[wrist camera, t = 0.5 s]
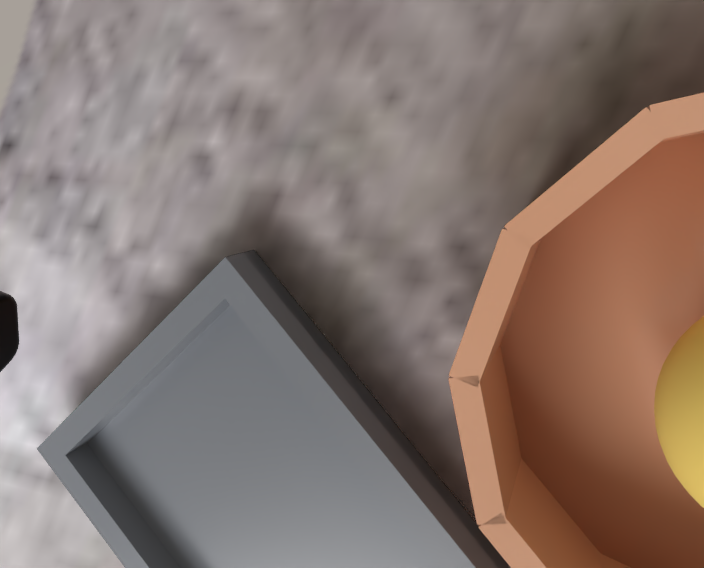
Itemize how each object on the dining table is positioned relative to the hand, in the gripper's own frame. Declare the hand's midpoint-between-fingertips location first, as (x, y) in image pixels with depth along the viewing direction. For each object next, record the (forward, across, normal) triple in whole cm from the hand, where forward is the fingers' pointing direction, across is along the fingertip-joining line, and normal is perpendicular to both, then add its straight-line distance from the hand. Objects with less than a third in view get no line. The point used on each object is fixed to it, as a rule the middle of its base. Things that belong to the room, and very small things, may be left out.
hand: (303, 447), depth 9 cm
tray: (+11, +3, +15) cm, 18 cm away
